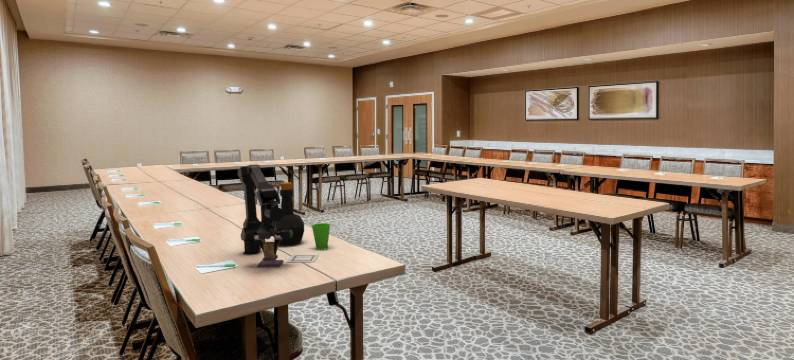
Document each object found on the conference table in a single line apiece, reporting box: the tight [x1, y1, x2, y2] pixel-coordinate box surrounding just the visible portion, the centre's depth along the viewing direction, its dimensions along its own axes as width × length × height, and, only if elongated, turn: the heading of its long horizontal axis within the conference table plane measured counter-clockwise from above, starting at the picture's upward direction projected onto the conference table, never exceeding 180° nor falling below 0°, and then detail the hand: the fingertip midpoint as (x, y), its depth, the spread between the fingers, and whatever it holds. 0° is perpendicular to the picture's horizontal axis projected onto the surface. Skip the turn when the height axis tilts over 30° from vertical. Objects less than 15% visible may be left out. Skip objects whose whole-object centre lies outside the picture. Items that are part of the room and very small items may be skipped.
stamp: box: [262, 241, 279, 261], centre depth 203 cm, size 5×5×7 cm
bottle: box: [272, 181, 305, 247], centre depth 237 cm, size 16×16×30 cm
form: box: [286, 254, 320, 264], centre depth 211 cm, size 12×11×1 cm
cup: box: [310, 222, 331, 250], centre depth 228 cm, size 9×9×11 cm
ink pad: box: [257, 259, 284, 268], centre depth 203 cm, size 9×7×1 cm
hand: (270, 254), depth 203 cm, fingers closed on stamp, 4 cm apart
